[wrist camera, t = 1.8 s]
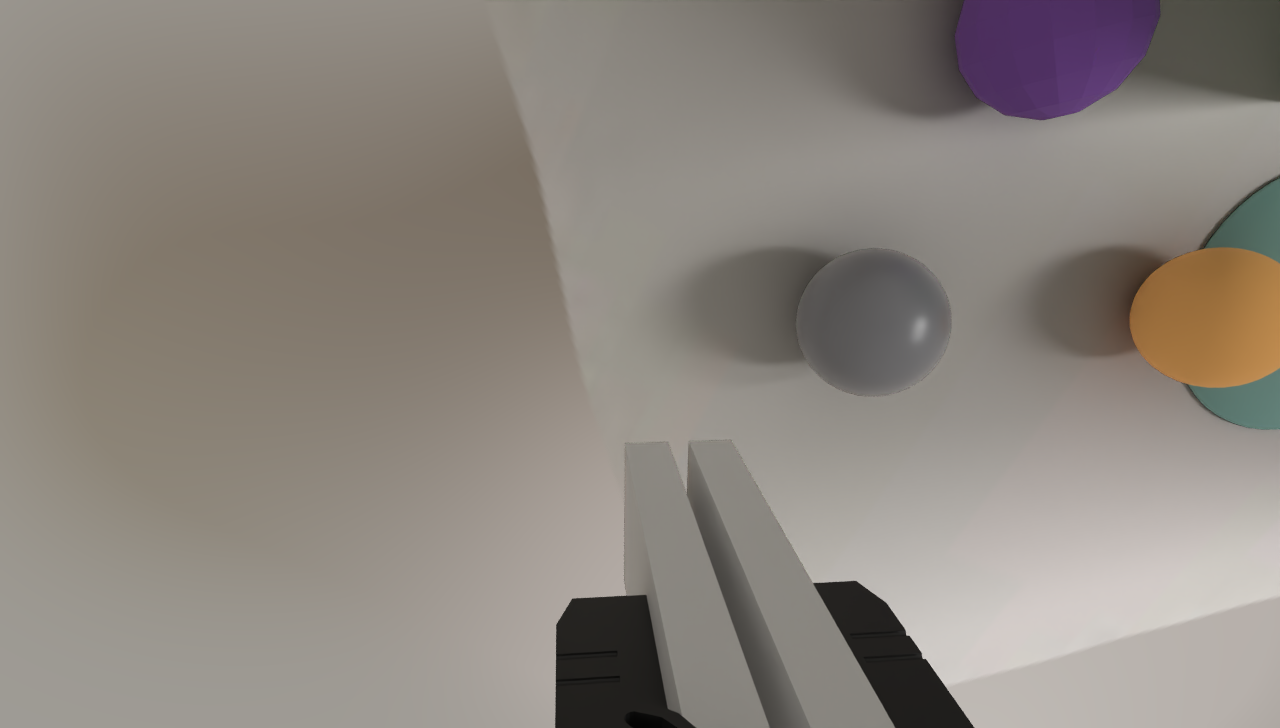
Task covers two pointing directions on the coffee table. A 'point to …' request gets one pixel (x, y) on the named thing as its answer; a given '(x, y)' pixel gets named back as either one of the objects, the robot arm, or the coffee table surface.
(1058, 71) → the kendama
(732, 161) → the coffee table surface
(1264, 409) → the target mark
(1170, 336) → the orange ball
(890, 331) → the gray ball
